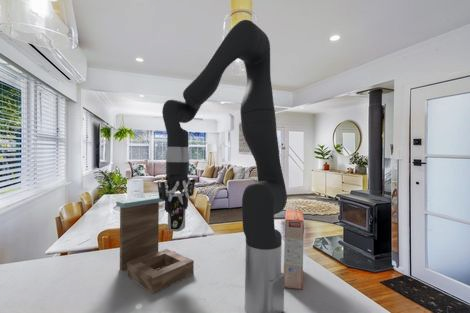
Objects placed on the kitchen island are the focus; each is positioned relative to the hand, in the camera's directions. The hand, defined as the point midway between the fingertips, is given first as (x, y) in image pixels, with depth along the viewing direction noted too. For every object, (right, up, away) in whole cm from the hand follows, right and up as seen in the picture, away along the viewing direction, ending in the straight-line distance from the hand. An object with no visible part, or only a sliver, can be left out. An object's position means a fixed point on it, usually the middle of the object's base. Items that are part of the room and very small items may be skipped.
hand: (176, 210), depth 81 cm
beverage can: (0, -7, 0) cm, 7 cm away
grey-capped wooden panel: (-15, -21, +6) cm, 26 cm away
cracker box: (+39, -22, -3) cm, 44 cm away
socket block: (-5, -21, -2) cm, 21 cm away
